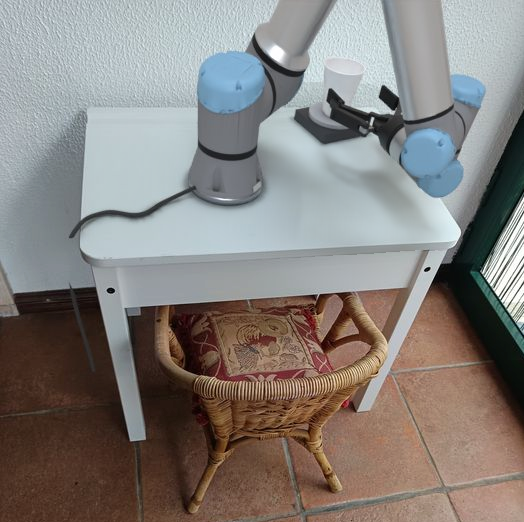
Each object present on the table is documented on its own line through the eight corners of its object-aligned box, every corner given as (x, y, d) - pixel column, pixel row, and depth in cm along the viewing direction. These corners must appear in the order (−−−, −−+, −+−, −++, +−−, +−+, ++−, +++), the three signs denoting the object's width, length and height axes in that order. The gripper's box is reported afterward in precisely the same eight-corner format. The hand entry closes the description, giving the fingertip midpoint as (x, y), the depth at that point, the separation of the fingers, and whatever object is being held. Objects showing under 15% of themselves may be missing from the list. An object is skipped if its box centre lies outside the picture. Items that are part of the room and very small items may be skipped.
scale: (323, 144, 117) (326, 130, 114) (294, 118, 123) (296, 105, 121) (368, 134, 122) (371, 121, 120) (337, 110, 129) (340, 97, 126)
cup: (353, 107, 123) (365, 60, 115) (354, 125, 117) (367, 77, 109) (315, 101, 123) (324, 53, 115) (313, 119, 117) (323, 70, 108)
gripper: (345, 164, 97) (302, 113, 109) (447, 152, 105) (397, 106, 116) (355, 127, 91) (308, 77, 103) (462, 118, 99) (407, 72, 111)
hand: (355, 92), depth 110 cm, fingers open, 13 cm apart
